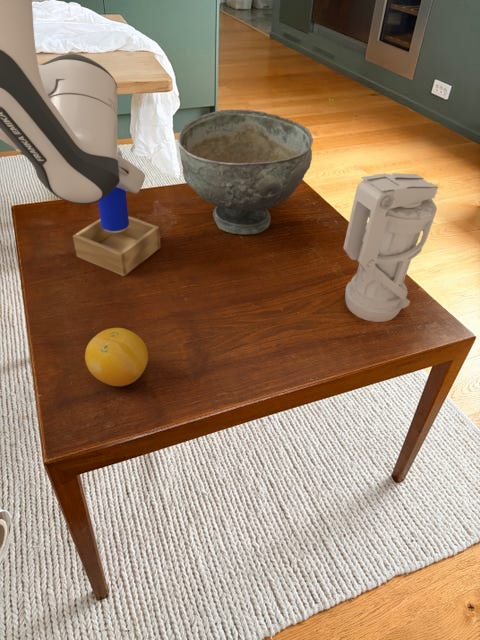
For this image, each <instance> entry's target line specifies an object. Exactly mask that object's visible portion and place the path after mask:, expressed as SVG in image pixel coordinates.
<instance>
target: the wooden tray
mask: <svg viewBox="0 0 480 640" xmlns="http://www.w3.org/2000/svg"><path fill="white" fill-rule="evenodd" d="M128 218H129V226H128V227H127V228H126V230H124V231H122V232H119V233H110V232H107V231H105V230H104V229H103V228H102V226H101V220H100V218H99V219H97V220H95V221H94V222H92V223H91V224H89V225H87V226H86V227H84V228H83V229H81V230H79V231H78V232H77V233H75V234H73V235H72V240H73V243H74V250H75V254H76V257H77V258H79V259H81V260H83V261H86V262H88V263H90V264H93V265H96V266H98V267H100V268H103V269H105V270H108V271H111V272H112V273H115V274H118V275H120V276H122V277H126V276H127V275H128V274H130V273H131V271H132V270H134V269H135V268H136V267H138V266H140V264H142V263H143V262H144V261H145V260H147V259H148V258H150V256H152V255H154V253H156V252H157V251H158V250H159V249H161V248H162V247H161V234H160V233H161V232H160V226H157V225H155V224H152V223H149V222H147V221H143V220H141V219H138V218H135V217H133V216H130V215H128Z"/></svg>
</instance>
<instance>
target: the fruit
mask: <svg viewBox="0 0 480 640" xmlns="http://www.w3.org/2000/svg"><path fill="white" fill-rule="evenodd" d="M84 359H85V361H84V362H85V365H86V367H87V369H88V371H89V373H91V375H92V376H93V377H94V378H96V379H97V380H98V381H100V382H101V383H103V384H106V385H108V386H112V387H125V386H128V385H131V384H133V383H135V382H136V381H137V380H138V379H139V378H140V377H141V376H142V374H143V373H144V371H145V370H146V367H147V365H148V363H149V352H148V347H147V346H146V344H145V342H144V341H143V339H142V338H141V337H140V336H139V335H138V334H137V333H135V332H133V331H131V330H130V329H126V328H123V327H110V328H106V329H103V330H102V331H100V332H98V333H97V334H95V336H93V338H91V340H90V341H89V342H88V344H87V346H86V349H85V353H84Z"/></svg>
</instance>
